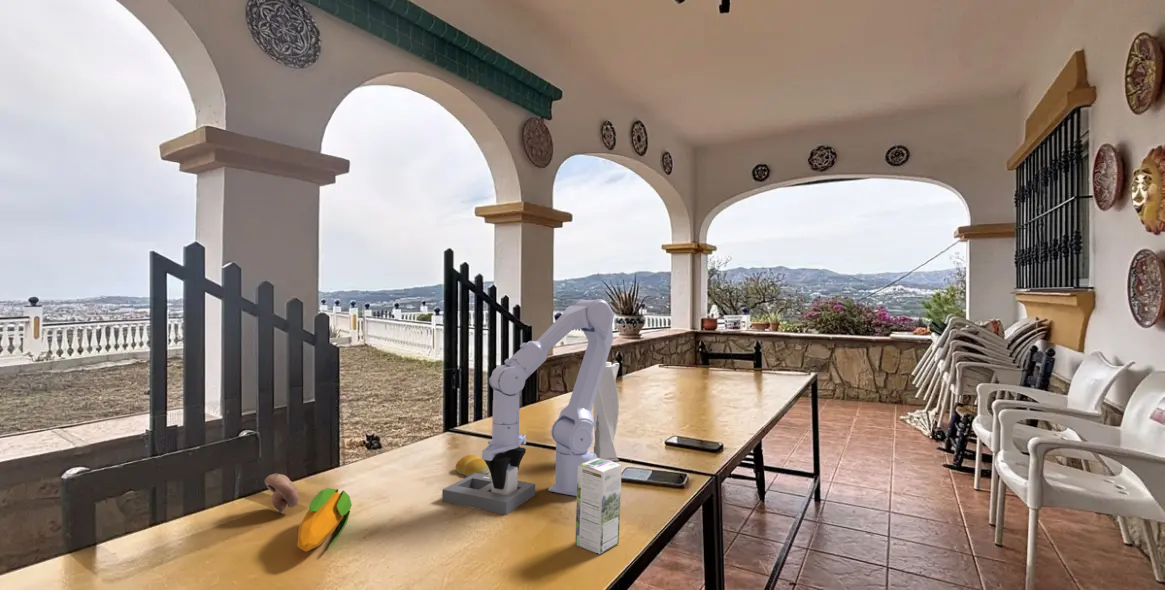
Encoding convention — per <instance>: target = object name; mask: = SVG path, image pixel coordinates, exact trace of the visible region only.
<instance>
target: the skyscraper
mask: <svg viewBox="0 0 1165 590" xmlns="http://www.w3.org/2000/svg"><path fill="white" fill-rule="evenodd" d="M619 369H620V363H619V362H615V363H613V364H612V362H611V361H606V364H605V368H604V371H603V374H602V377H601V380H600V384H599V387H598V390H597V393H596V396H595V400H594V403H593V406H592V410H593V412H592V414H593V416H592V418H593V421H594V426H593V430H594V446H593V453H594V454H596V455H597V458H600V459H606V460H609V461H612V462H614V461H619V462H620V459H619V458H618V456H617V453H616V448H615V445H614V442H615V436H616V432H617V428H618V423H619V422H618V421H619V412H620V410H619V407H620V406H619V405H620V403H619V402H620V400H619V391H618V386H617V381H616V380H617V376H618V374H619V373H618V371H619Z"/></svg>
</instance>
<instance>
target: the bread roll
mask: <svg viewBox="0 0 1165 590" xmlns="http://www.w3.org/2000/svg"><path fill="white" fill-rule="evenodd" d="M455 469H456V471H457V473H459V475H464V476H465V477H468V476H470V475H472V474H474V473H479V474H484V475H489V474H490V471H489V468H488V466H487V464H486V462H485V461H484V460H483V459H482V457H480V456H479V455H476V454H468V455H465V456H463V457H461V458H460V459H459V460H458V461H457V463H456V465H455Z"/></svg>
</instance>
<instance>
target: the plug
mask: <svg viewBox="0 0 1165 590" xmlns="http://www.w3.org/2000/svg"><path fill="white" fill-rule="evenodd" d="M518 471H519V468H518V467H514V466H510V463H509V464H508V467H507V471H506V478H505V485H504V489H502V490H501V489H495V488H494V486H493V482H492V489H491V492H492V493H498V494H503V495H508V496H509V495H511V494H512V493H514V492H515V491H517V481H519V479H518V478H519V477H518V475H519V474H518Z"/></svg>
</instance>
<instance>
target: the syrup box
mask: <svg viewBox="0 0 1165 590" xmlns="http://www.w3.org/2000/svg"><path fill="white" fill-rule="evenodd" d="M621 490H622V465H621V463H620V464H619V463H617V462H612V461H609V460H606V459H600V458H597V459H594V460H591V461H588V462H586V463H583V464H580V465H578V478H577V496H576V509H575V510H576V511H575V515H576V516H575V517H576V518H575V519H576V521H575V539H574V540H575V542H574V544H575V545H576V547H580V548H583V549H584V550H587V551H590V552H591V553H595V554H597V553H598V555H602V554H603V553H605V552H607V551H609V550H610V549H612V548H614V547H616V546H618V545H619V544H620V525H621V524H620V522H621V521H620V519H621V518H620V517H621V498H622V497H621V495H622V494H621V493H622V491H621Z"/></svg>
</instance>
